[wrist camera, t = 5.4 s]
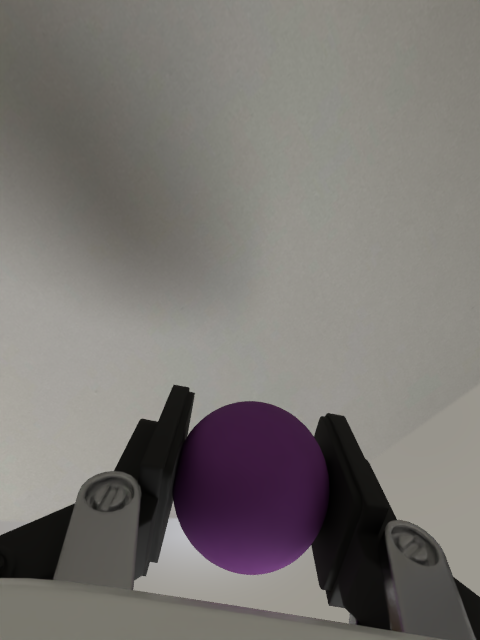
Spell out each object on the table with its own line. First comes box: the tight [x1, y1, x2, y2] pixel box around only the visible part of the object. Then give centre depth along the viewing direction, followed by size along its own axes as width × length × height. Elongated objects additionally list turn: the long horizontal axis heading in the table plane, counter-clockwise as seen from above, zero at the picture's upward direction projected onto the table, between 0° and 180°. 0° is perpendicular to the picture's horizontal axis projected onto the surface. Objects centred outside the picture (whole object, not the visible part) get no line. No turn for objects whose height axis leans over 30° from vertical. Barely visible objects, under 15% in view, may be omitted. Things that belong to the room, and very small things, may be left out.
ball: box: [173, 401, 330, 575], centre depth 10 cm, size 4×4×4 cm
